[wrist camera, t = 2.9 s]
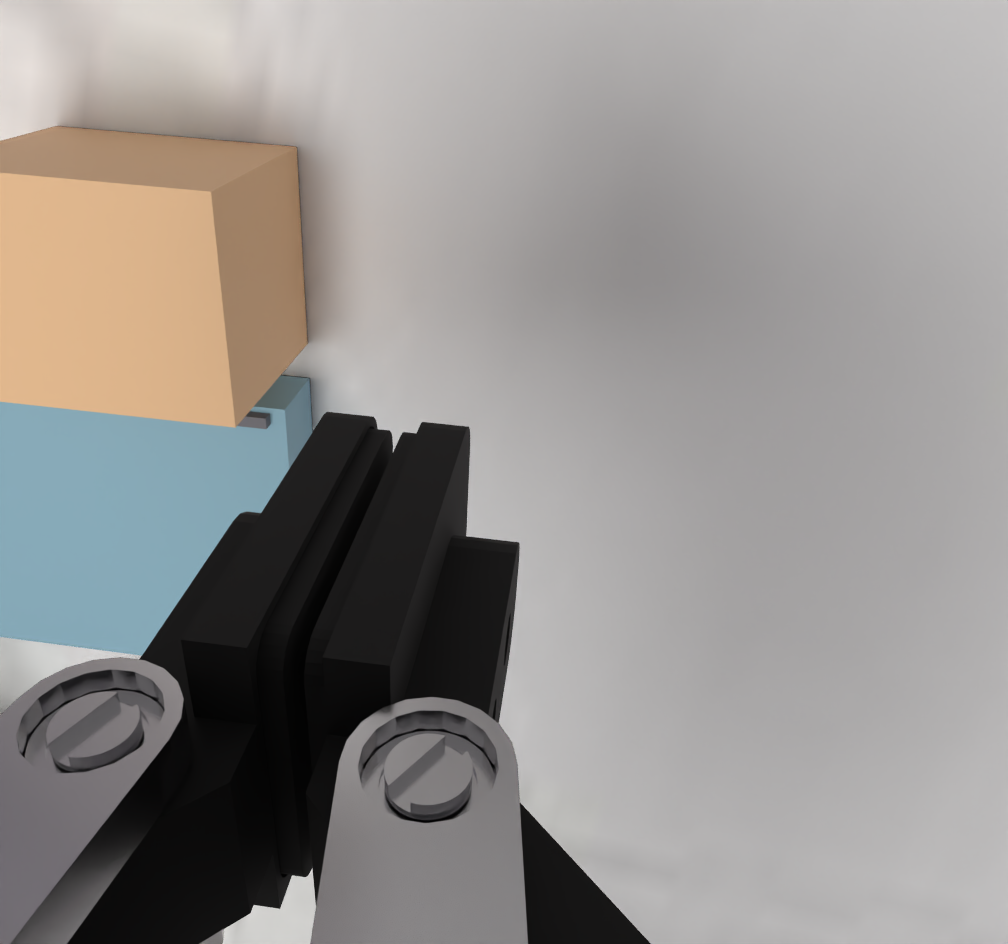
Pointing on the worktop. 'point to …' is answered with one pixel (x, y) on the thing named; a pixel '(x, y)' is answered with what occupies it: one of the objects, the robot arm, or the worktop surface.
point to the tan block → (148, 273)
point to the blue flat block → (127, 511)
